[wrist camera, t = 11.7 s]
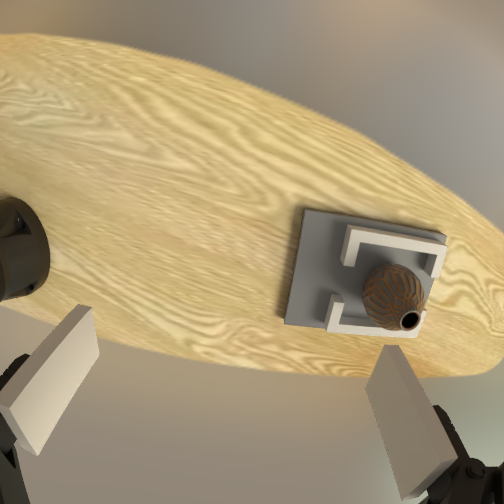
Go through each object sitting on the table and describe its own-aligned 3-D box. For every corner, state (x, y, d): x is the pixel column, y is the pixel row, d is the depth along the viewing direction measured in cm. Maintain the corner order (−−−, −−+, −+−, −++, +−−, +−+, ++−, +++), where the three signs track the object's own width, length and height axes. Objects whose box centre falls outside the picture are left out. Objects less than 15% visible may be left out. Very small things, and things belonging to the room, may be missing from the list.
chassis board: (283, 319, 38) (284, 333, 35) (304, 208, 33) (307, 214, 30) (410, 330, 38) (418, 343, 35) (442, 233, 33) (454, 240, 30)
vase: (354, 261, 34) (377, 296, 25) (408, 250, 33) (443, 281, 25) (357, 313, 36) (376, 356, 28) (408, 302, 35) (437, 341, 27)
